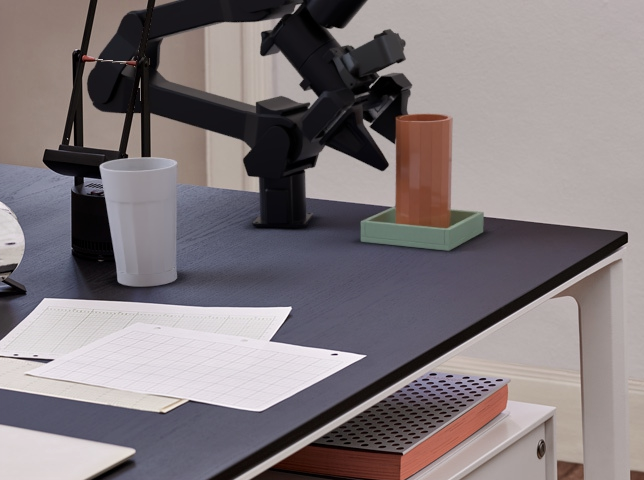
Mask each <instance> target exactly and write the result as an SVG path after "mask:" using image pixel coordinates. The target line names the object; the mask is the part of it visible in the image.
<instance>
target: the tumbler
mask: <svg viewBox="0 0 644 480" xmlns="http://www.w3.org/2000/svg"><path fill="white" fill-rule="evenodd" d="M394 148H395V150H394V156H395V157H394V160H395V162H394V163H395V164H394V167H395V168H394V172H395V173H394V186H395V187H394V190H395V191H394V206H395V224H406V225H416V226H427V227H437V228H446V229H447V228H449V227H450V220H451V209H452V171H453V170H452V168H453V167H452V165H453V163H452V162H453V116H451V115H448V114H440V113H429V112H427V113H408V115H402V116H398V117H396V118H395V144H394Z"/></svg>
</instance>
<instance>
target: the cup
mask: <svg viewBox="0 0 644 480" xmlns="http://www.w3.org/2000/svg"><path fill="white" fill-rule="evenodd" d="M99 172H100V176H101V182H102V187H103V194H104V198H105V199H104V200H105V204H106V211H107V217H108V223H109V224H108V225H109V229H110V236H111V243H112V248H113V254H114V261H115V267H116V278H117V282H118V283H119V284H121V285H123V286H129V287H138V288H139V287H141V288H142V287H143V288H144V287H156V286H162V285H166V284H170V283H173V282H175V281H176V280H177V279H178V272H177V271H178V270H177V236H178V235H177V234H178V233H177V228H178V226H177V224H178V221H177V219H178V218H177V217H178V211H177V210H178V162H177V160H175V159H170V158H165V157H150V156H149V157H148V156H147V157H145V156H144V157H128V158H119V159H113V160H108V161H105V162H103V163H101V164H100V165H99Z"/></svg>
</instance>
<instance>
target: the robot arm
mask: <svg viewBox="0 0 644 480" xmlns="http://www.w3.org/2000/svg"><path fill="white" fill-rule="evenodd" d="M368 1H369V0H173V1H170V2H167V3H163V4H159V5H156V6H153V7H154V8H153V13H152V19H151V25H150V30H149V35H148V40H147V45H146V49H145V56H146V57H148V58H150V65H149V111H150V113H149V114H152V115H155V116H158V117H162V118H165V119H168V120H172V121H175V122H179V123H183V124H184V125H189V126H191V127H195V128H199V129H202V130H206V131H210V132H212V133H215V134H220V135H222V136H226V137H228V138H229V137H230V138H233V139H235V140H236V139H237V140H240V141H242V142H244V143H245V144H246V145H247V146H248V148H250V150H249V151H248V152H247V154H246V155H244V157H243V159H242V162H243V166H244V168H245V172H246V174H247V176H248V177H249V178H251V177H253V178H258V196H259V215H258V216H257V218H255V219H254V220H253V222H252V227H255V228H257V227H259V228H305V227H306V226H307V225H308V223H310V221H311V220H312V219H313V218H314V213H313V212H307V187H306V186H307V183H306V170H309V169H314V168H315V167H316V165H317V163H318V159H319V156H320V154H321V152H323V151H324V149H325V147H328V148H330V149H333V150H335V151H338V152H340V153H342V154H344V155H347V156H348V157H351V158H353V159H355V160H358V161H359V162H361V163H363V164H365V165H368V166H369V167H372V168H374V169H376V170H378V171H379V172H385V171H386V170H387V169H388V168H389V167H390V163H389V161H388V159H387V158H386V156H385V155H384V153H383V151H382V150H381V148H380V147H379V145H378V143H376V141H375V139H374V137H373V136H372V135H371V133H370V132H369V130H368V129H367V127H366V125H365V124H364V123H365V122H364V121H366V122H367V123H369V124H370V125H369V126H368V127H369V128H370V129H371V130H373V131H374V132H376V133H377V134H378V135H380V136H382V137H383V138H385V139H386V140H387V141H389V142H390V143H391V144H393V145H395V118H396V117H398V116H402V115H408V114H409V112H408V104H409V98H410V97H411V95H412V91H411V89H412V87H413V84H412V82H411V81H410V80H409V79H408V77H407V76H406V75H405V74H404V73H403V72H391V73H387V74H383V75H381V76H380V74H379V73H378V72H380V71H382V70H384V69H387V68H389V67H391V66H393V65H395V64H402V63H403V62H405V61H406V60H407V58H406V55H405V52H404V50H405V47H406V44H407V43H406V40H405V39H404V38H401V36H400V33H399V32H394V30H392V29H391V28H388V29H384V30H382V32H380V33H376V34H374V35H373V39H372V40H369V41H367V42H365V43H364V44H362V45H359V46H358V47H356V48H355V47H354V46H353V45H349V44H345V45H341V44H340V43H339V42H338V41H337V39H336V38H335V37H334V35H333V34H332V33H331V32H330V30H332V29H334V28H335V29H341V30H343V29H345V28H346V27H347V26H348V25H349V24H350V22H351V21H352V20H353V18H354V17H355V16H356V15H357V14H358V13H359V12H360V11H361V9H362V8H363V7H364V6H365V4H367V2H368ZM297 5H298V7H297V8H296V6H297ZM295 8H296V9H295ZM147 9H148V8H144V9H136V10H130V11H128V12H127V13H126V14H125V15H123V17H122V18H121V21H120V23H119V24H118V27H117V29H116V32H115V34H114V35H113V36H112V37H111V39H110V40H109V41H108V42H107V44H106V45H105V46H104V48H103V49H102V51H101V52H100V53H99V54H98V58H97V60H98V59H103V60H113V61H136V60H137V56H138V50H139V46H140V42H141V37H142V31H143V27H144V23H145V17H146V12H147ZM277 19H279V21H278V22H277V23H276V24H275V25H274V27H273V29H268V30H262V31H261V32H260V37H261V40H260V46H259V54H260V57H267V56H272V55H277V54H278V53H281V54H282V55H283V56H284V57H285V59H286V60H287V61H288V63H290V65H291V66H292V67H293V69H295V71H296V73H298V75H299V76H300V77H301V78H302V80H301V81H300V83H299V84H298V86H299V87H300V88H301V89H302V90H303V92H307V91H310V90H311V91H312V92H313V93H314V94H315V95H316V97H317V98H316V100H315V101H314V102H313V103H312V104H311V102H310V101H308V102H298V101H295V100H293V99H291V98H289V97H286V96H285V95H284V96H283V95H279V96H275V97H271V98H267V99H262V100H258V101H256V102H255V105H254V104H251V103H247V102H243V101H239V100H235V99H233V98H228V97H225V96H223V95H218V94H215V93H211V92H208V91H205V90H202V89H201V90H200V89H197V88H194V87H190V86H187V85H183V84H179V83H177V82H176V83H175V82H172V81H170V80H168V79H166V78H165V77H164V76H163V75H162V74H161V72H160V71H158V69H159V66H160V63H161V61H160V60H161V45H162V43H163V40H164V39H166V38H170V37H172V36H177V35H181V34H184V33H188V32H193V31H196V30H199V29H205V28H207V27H211V26H216V25H219V24H222V23H231V24H232V23H234V24H238V23H257V22H264V21H271V20H277ZM97 60H96V62H95V65H94V67H93V68H91V70H90V72H89V74H88V75H87V79H86V80H87V81H86V90H87V94H88V97H89V99H90V101H91V102H92V103H91V104H92V106H93V107H94V108H95V109H96V110H98V111H100V112H103V113H111V114H128V113H127V109H128V104H129V100H130V97H131V92H132V85H133V80H134V74H135V67H134V66H131V65H126V64H120V63H112V62H101V61H97ZM132 114H142V113H141V101H140V88H138V92H137V96H136V101H135V108H134V112H133V113H132Z"/></svg>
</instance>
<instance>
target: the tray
mask: <svg viewBox="0 0 644 480" xmlns="http://www.w3.org/2000/svg"><path fill="white" fill-rule="evenodd" d="M484 217H485V212H484V211H475V210H464V209H455V208H451V220H450V227H449V228H447V229H446V228H437V227H427V226H416V225H406V224H395V205H394V206H391V207H390V208H387V209H385V210H383V211H380V212H379V213H377V214H374V215H372V216H370V217H367V218H364V219H363V220H361V221H360V242H361V243H369V244H377V245H378V244H379V245H380V244H381V245H389V246H398V247H399V246H400V247H407V248H418V249H426V250H436V251H446V252H450V251H451V250H453V249H455V248H457V247H458V246H461V245H462V244H464V243H466V242H468V241H469V240H471V239H473V238H475V237H477V236H478V235H481V234H482V233H484Z"/></svg>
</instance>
